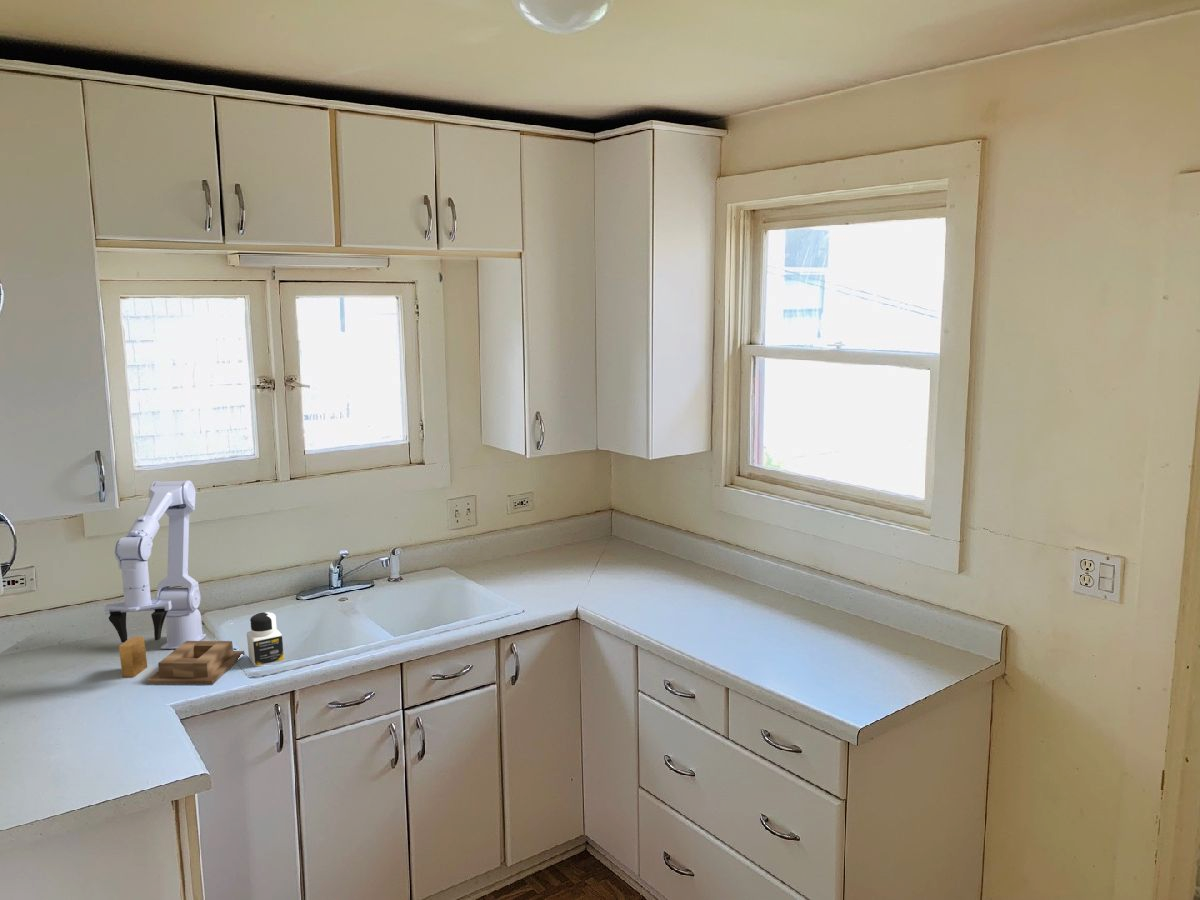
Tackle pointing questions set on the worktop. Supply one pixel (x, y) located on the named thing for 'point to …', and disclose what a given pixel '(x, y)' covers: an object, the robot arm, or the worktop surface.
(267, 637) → the medicine bottle
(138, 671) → the wooden peg block
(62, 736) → the worktop surface
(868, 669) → the worktop surface
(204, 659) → the well board
